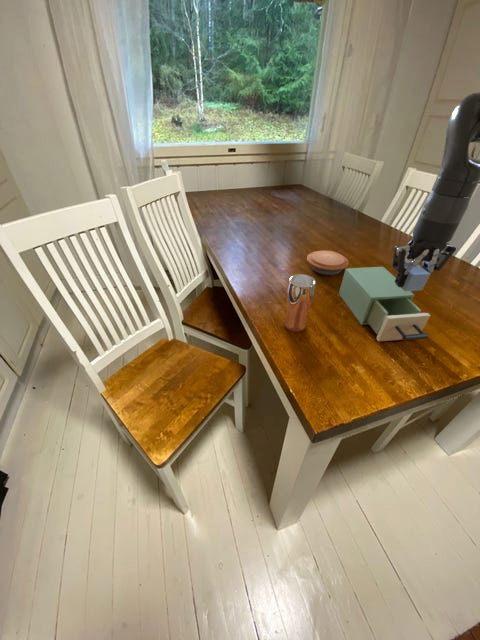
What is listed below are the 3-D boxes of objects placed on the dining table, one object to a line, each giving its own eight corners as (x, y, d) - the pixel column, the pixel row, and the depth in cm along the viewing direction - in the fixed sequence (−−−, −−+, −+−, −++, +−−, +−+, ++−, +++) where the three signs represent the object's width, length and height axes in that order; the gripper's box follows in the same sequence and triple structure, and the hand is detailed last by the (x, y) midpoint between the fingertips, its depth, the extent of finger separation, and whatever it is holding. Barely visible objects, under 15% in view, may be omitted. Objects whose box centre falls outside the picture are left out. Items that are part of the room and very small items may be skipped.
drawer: (429, 351, 70) (444, 328, 65) (388, 354, 69) (399, 331, 64) (387, 305, 86) (396, 283, 81) (352, 307, 85) (359, 285, 80)
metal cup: (279, 319, 81) (284, 275, 72) (300, 316, 82) (308, 272, 73) (288, 334, 76) (295, 289, 66) (311, 330, 77) (321, 285, 68)
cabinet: (401, 322, 81) (414, 295, 75) (361, 325, 79) (371, 297, 73) (373, 291, 93) (383, 266, 87) (338, 293, 92) (345, 268, 86)
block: (422, 290, 67) (430, 273, 64) (404, 291, 66) (412, 274, 63) (410, 280, 70) (418, 264, 67) (394, 281, 70) (401, 265, 67)
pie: (348, 280, 99) (351, 267, 96) (305, 275, 102) (307, 263, 98) (344, 261, 111) (347, 249, 108) (305, 257, 113) (307, 246, 110)
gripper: (420, 223, 54) (389, 295, 64) (485, 220, 55) (445, 291, 66) (398, 211, 59) (373, 279, 70) (458, 209, 61) (425, 276, 72)
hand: (408, 284), depth 68 cm, fingers closed on block, 4 cm apart
